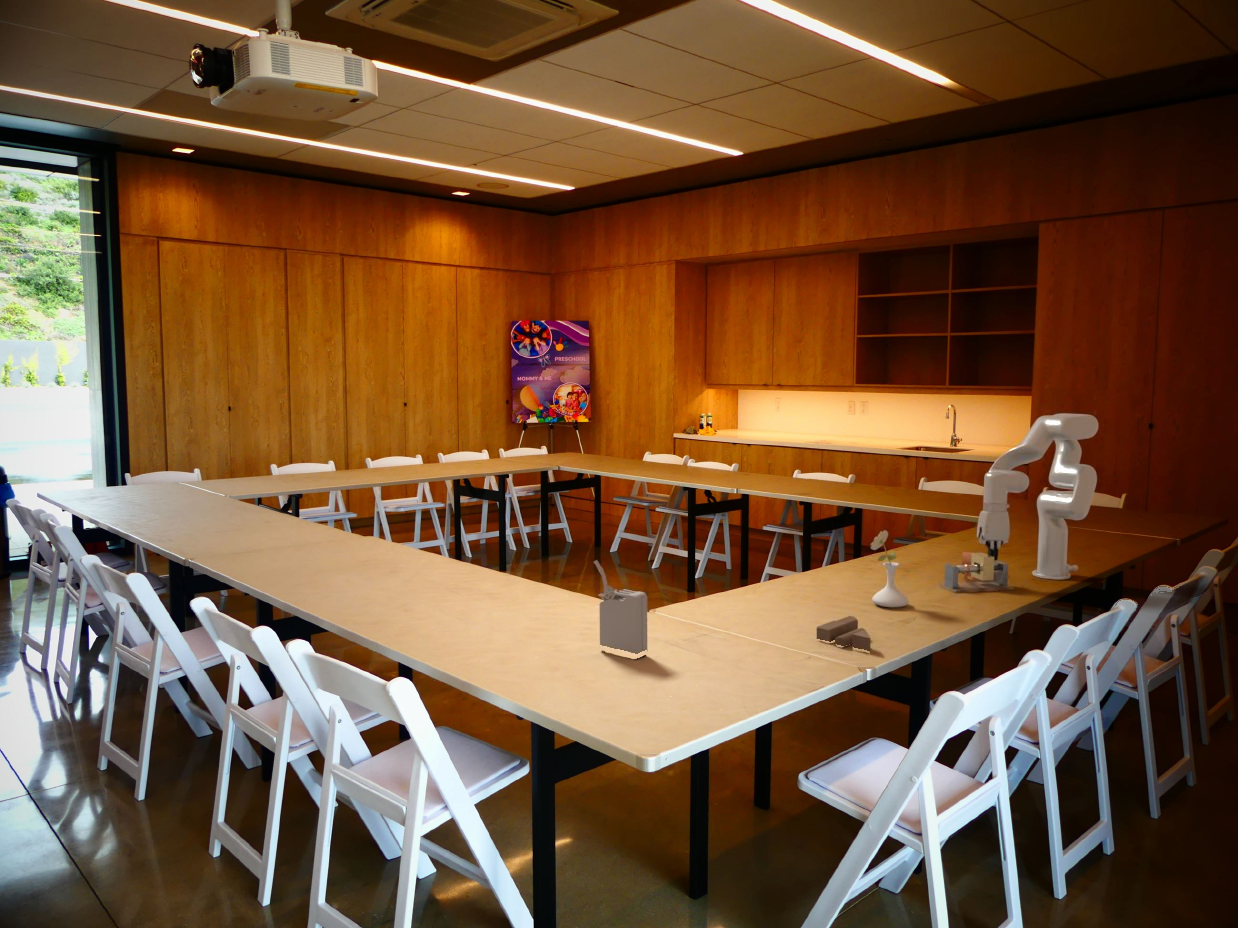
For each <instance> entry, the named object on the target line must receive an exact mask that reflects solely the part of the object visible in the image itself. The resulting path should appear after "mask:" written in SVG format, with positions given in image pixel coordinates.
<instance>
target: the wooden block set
mask: <svg viewBox="0 0 1238 928" xmlns="http://www.w3.org/2000/svg"><path fill="white" fill-rule="evenodd" d="M815 637H816V639H820V640H825V641H829V642H831V641H833V640H835V643H834V644H837V645H841V646H846V645H849V644H851V643H852V644H851V647H854V648H858V649H864V650H867V651H870V652H871V641H872V640H871V639H872V638H871V637H870V635H869V633H868V632H867V630H866V629H865V628H863V627H860V628H859V620H858V619H857V617H855V616H853V615H848V616H845V617H842V618H840V619H837V620H832V621H829V622H827V623H824V624H821V625H818V626H817V627H816V636H815ZM849 646H850V645H849ZM846 647H847V646H846Z"/></svg>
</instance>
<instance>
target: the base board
mask: <svg viewBox="0 0 1238 928" xmlns="http://www.w3.org/2000/svg"><path fill="white" fill-rule="evenodd" d="M938 586H939V587H940V588H942V589H945V590H946V591H949V592H952V593H954V594H962V593H963V594H964V593H981V591H983V592H997V591H998V590H1000V591H1012V590H1014V587H1013V586H1012V585H1011V586H1010V585H1008V586H1001V585H998V584H996V583H994V580H987V581H983V582H966V581H964V582H958V589H951V588H949V587H947V586H945V583H939V585H938ZM998 592H999V591H998Z"/></svg>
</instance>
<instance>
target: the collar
mask: <svg viewBox="0 0 1238 928" xmlns="http://www.w3.org/2000/svg"><path fill="white" fill-rule="evenodd" d="M971 553H972V557H971V565H979V564H980V572H971V575H970V576H971V578H973V577H975V578H977V579H980V580H982V581H994V561H995V560H994V557H993V556H990V555H988V553H984V552H971Z"/></svg>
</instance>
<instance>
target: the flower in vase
mask: <svg viewBox="0 0 1238 928" xmlns="http://www.w3.org/2000/svg"><path fill="white" fill-rule="evenodd" d="M888 537H889V531H887V530H886V529H884V530H883V531H882V530H881V531H879V533H878V535H877V536H875V537H874V539H873V541H872V542H871V543H870V550H873V551H877V550H878V549H879V548H880V547H882V546H883V548H884V551H885V554H882V555H880V556H879V558H878V559H877V562H883V561H885V560H886V559H887V560H888V561H886V562H883V563H882V564H883V566H884V567H885V570H886V577H887V578H886V579H887V581H886V585H885V587H883V588H882V589H881V590H878V591H877V592H876V593H875V594H874V595H873V596H872V599H871V601H872V602H873V603H874V604H875V605H878V606H881V607H885V608H886V607H887V608H902V607H904V606H908V604H909V603H910V601H909V598H908V597H907V596H906V595H905V594H904V593H903V592H901V590H899V588H897V587H896V584H895V577H896V576H895V575H896V571H897V569H898V567H899V566H900V564H899V562H895V561H894V562H893V560H895V559H896V558H897V552H896V551H893V552H892V553H890V554H888V550H887V549H886V546H885V542H886V541H887V539H888ZM891 561H892V562H891Z"/></svg>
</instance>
